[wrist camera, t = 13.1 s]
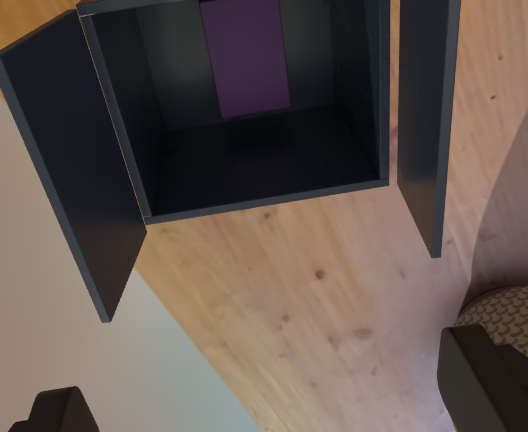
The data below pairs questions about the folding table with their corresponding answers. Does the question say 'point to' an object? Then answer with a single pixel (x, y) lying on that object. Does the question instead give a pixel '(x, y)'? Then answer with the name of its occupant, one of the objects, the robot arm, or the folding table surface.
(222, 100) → the block
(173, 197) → the bin
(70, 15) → the box flap
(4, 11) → the folding table surface
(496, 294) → the planter
